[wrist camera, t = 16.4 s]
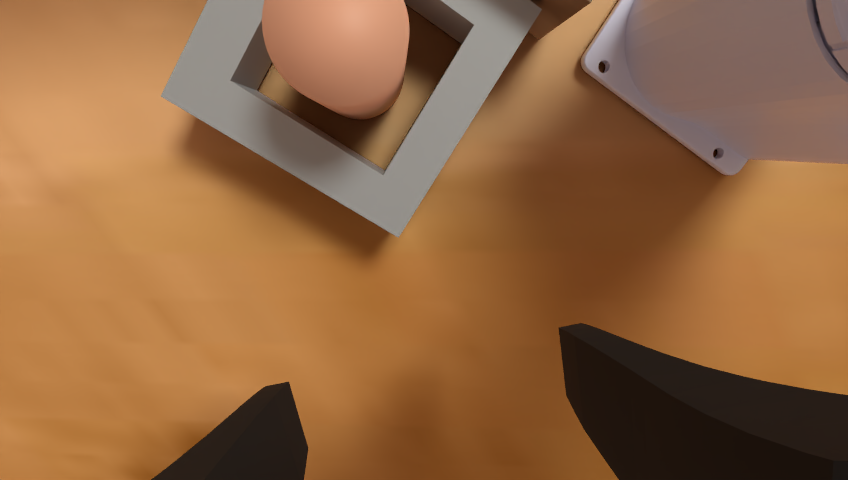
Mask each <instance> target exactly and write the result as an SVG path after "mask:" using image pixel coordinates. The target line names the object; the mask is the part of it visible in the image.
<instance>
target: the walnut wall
mask: <svg viewBox="0 0 848 480" xmlns="http://www.w3.org/2000/svg"><path fill="white" fill-rule="evenodd" d="M530 1H532V2H533V3H534V4H536V5H537V6H538V7H540V8H541V9H542V10H541V12H540V13H539V15H538V17H537V18H536V20H535V21H534V23H533V25H532V26H531V28H530V29H529V31H528V32H529V33H530V34H532V35H533V36H534V37H536V38H537V39H538V40H539V39H540V38H542V37H543V36H545V35H546V34H547V33H549V32H550V31H552V30H553V29H554V28H556V27H557V26H559V25H560V24H561V23H563V22H564V21H566V20H567V19H568V18H570V17H571V16H573V15H574V14H575V13H577V12H578V11H580V10H581V9H582V8H584V7H585V6H587V5H588V4H589V3H591V1H592V0H530Z"/></svg>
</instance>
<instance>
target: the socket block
mask: <svg viewBox="0 0 848 480" xmlns="http://www.w3.org/2000/svg"><path fill="white" fill-rule="evenodd" d="M404 2H405V4H406V5H408V6H409V7H410V8H412V9H413V10H415V11H416V12H417V13H419V14H420V15H422V16H423V17H424V18H426V19H427V20H429V21H430V22H431V23H433V24H434V25H436V26H437V27H438V28H440V29H441V30H443V31H444V32H445V33H447V34H448V35H450V36H451V37H452V38H454V39H455V40H457V41H458V42H459V43H461V45H460V47H459V49H458V50H457V52H456V54H455V55H454V57H453V59H452V60H451V62H450V64H449V65H448V67H447V68H446V70H445V72H444V73H443V75H442V77H441V78H440V80H439V82H438V83H437V85H436V87H435V88H434V90H433V92H432V93H431V95H430V97H429V98H428V100H427V102H426V103H425V105H424V107H423V108H422V110H421V112H420V113H419V115H418V116H417V118H416V120H415V121H414V123H413V125H412V126H411V128H410V130H409V131H408V133H407V135H406V136H405V138H404V140H403V141H402V143H401V145H400V146H399V148H398V150H397V151H396V153H395V155H394V156H393V158H392V159H391V161H390V163H389V164H388V166H387V168H386V169H385V170H383V169H382V168H380V167H379V166H377V165H375V164H374V163H372V162H371V161H369V160H367V159H366V158H364V157H363V156H361V155H359V154H358V153H356V152H355V151H353V150H351V149H350V148H348V147H346V146H345V145H343V144H342V143H340V142H338V141H337V140H335V139H334V138H332V137H330V136H329V135H327V134H326V133H324V132H322V131H321V130H319V129H318V128H316V127H314V126H313V125H311V124H310V123H308V122H306V121H305V120H303V119H302V118H300V117H298V116H297V115H295V114H294V113H292V112H290V111H289V110H287V109H286V108H284V107H282V106H281V105H279V104H278V103H276V102H274V101H273V100H271V99H270V98H268V97H266V96H265V95H263V94H262V93H260V92H258V91H257V90H258V88H259V86H260V84H261V82H262V80H263V78H264V76H265V75H266V73H267V71H268V69H269V67H270V65H271V63H272V61H271V58H270V56H269V54H268V52H267V48H266V45H265V42H264V37H263V31H262V10H263V5H264V0H208V1H207V3H206V5H205V7H204V9H203V11H202V13H201V15H200V17H199V19H198V21H197V23H196V25H195V27H194V29H193V32H192V34H191V36H190V38H189V40H188V42H187V44H186V46H185V48H184V50H183V52H182V54H181V56H180V58H179V60H178V62H177V64H176V66H175V68H174V70H173V72H172V74H171V76H170V78H169V81H168V83H167V85H166V87H165V89H164V91H163V93H162V95H161V97H163V98H165V99H166V100H168V101H170V102H171V103H173V104H175V105H176V106H178V107H180V108H181V109H183V110H185V111H186V112H188V113H190V114H191V115H193V116H195V117H196V118H198V119H200V120H201V121H203V122H205V123H207V124H208V125H210V126H212V127H213V128H215V129H217V130H218V131H220V132H222V133H223V134H225V135H227V136H228V137H230V138H232V139H233V140H235V141H237V142H238V143H240V144H242V145H244V146H245V147H247V148H249V149H250V150H252V151H254V152H255V153H257V154H259V155H260V156H262V157H264V158H265V159H267V160H269V161H270V162H272V163H274V164H275V165H277V166H279V167H280V168H282V169H284V170H286V171H287V172H289V173H291V174H292V175H294V176H296V177H297V178H299V179H301V180H302V181H304V182H306V183H307V184H309V185H311V186H312V187H314V188H316V189H317V190H319V191H321V192H323V193H324V194H326V195H328V196H329V197H331V198H333V199H334V200H336V201H338V202H339V203H341V204H343V205H344V206H346V207H348V208H349V209H351V210H353V211H354V212H356V213H358V214H359V215H361V216H363V217H365V218H366V219H368V220H370V221H371V222H373V223H375V224H376V225H378V226H380V227H381V228H383V229H385V230H386V231H388V232H390V233H391V234H393V235H395V236H396V237H398V238H399V236H400V234H401V233H402V231H403V230H404V228H405V226H406V225H407V223H408V222H409V220H410V219H411V217H412V215H413V214H414V212H415V211H416V209H417V207H418V206H419V204H420V203H421V201H422V199H423V198H424V196H425V195H426V193H427V191H428V190H429V188H430V187H431V185H432V184H433V182H434V180H435V179H436V177H437V176H438V174H439V172H440V171H441V169H442V168H443V166H444V164H445V163H446V161H447V160H448V158H449V156H450V155H451V153H452V152H453V150H454V149H455V147H456V145H457V144H458V142H459V141H460V139H461V137H462V136H463V134H464V133H465V131H466V129H467V128H468V126H469V125H470V123H471V122H472V120H473V118H474V117H475V115H476V114H477V112H478V110H479V109H480V107H481V106H482V104H483V102H484V101H485V99H486V98H487V96H488V94H489V93H490V91H491V90H492V88H493V87H494V85H495V83H496V82H497V80H498V79H499V77H500V75H501V74H502V72H503V71H504V69H505V67H506V66H507V64H508V63H509V61H510V60H511V58H512V56H513V55H514V53H515V52H516V50H517V48H518V47H519V45H520V44H521V42H522V40H523V39H524V37H525V36H526V34H527V32H528V31H529V29H530V28H531V26H532V25H533V23H534V21H535V20H536V18H537V17H538V15H539V13H540V12H541V10H542V9H541V8H540V7H538V6H537V5H536V4H534V3H533V2H532V1H530V0H404Z"/></svg>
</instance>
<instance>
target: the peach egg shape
mask: <svg viewBox="0 0 848 480" xmlns="http://www.w3.org/2000/svg"><path fill="white" fill-rule="evenodd" d="M262 31H263V37H264V42H265V45H266V48H267V52H268V54H269V56H270V58H271V61H272V62H273V64H274V66H275V67H276V69H277V71H278V72H279V73H280V74H281V76H282V77H283V78H284V79H285V80H286V81H287V82H288V83H289V84H290V85H291V86H292V87H293V88H294V89H296V90H297V91H298V92H300V93H301V94H303V95H305V96H306V97H308V98H310V99H312V100H314V101H315V102H317V103H319V104H321V105H323V106H325V107H327V108H328V109H330V110H332V111H334V112H336V113H338V114H340V115H342V116H344V117H347V118H351V119H369V118H373V117H376V116H378V115H380V114H382V113H383V112H385V111H386V110H387V109H389V108H390V107H391V106H392V105H393V103H394V102H395V101H396V99H397V98H398V96H399V94H400V91H401V89H402V85H403V80H404V72H405V65H406V58H407V51H408V43H409V18H408V13H407V9H406V5H405V2H404V0H264V5H263V10H262Z"/></svg>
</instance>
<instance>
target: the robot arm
mask: <svg viewBox="0 0 848 480" xmlns="http://www.w3.org/2000/svg"><path fill="white" fill-rule="evenodd" d="M600 62H603V63H604V64H605V68H606V69H605V71H604V72H603V73H602V72H600V71H599V69H598V65H599V63H600ZM581 66H582V69H583V70H584V71H585V72H586V73H588V74H589V75H590V76H592V77H593V78H594V79H596V80H597V81H598V82H600V83H601V84H602V85H604V86H605V87H606V88H608V89H609V90H610V91H612V92H613V93H614V94H616V95H617V96H618V97H620V98H621V99H622V100H624V101H625V102H626V103H628V104H629V105H630V106H632V107H633V108H634V109H636V110H637V111H638V112H640V113H641V114H643V115H644V116H645V117H647V118H648V119H649V120H651V121H652V122H653V123H655V124H656V125H657V126H659V127H660V128H661V129H663V130H664V131H665V132H667V133H668V134H669V135H671V136H672V137H673V138H675V139H676V140H677V141H679V142H680V143H681V144H683V145H684V146H685V147H687V148H688V149H689V150H691V151H692V152H693V153H695V154H696V155H697V156H699V157H700V158H701V159H703V160H704V161H705V162H707V163H708V164H709V165H711V166H712V167H713V168H715V169H716V170H717V171H719V172H720V173H722V174H724V175H735V174H737V173H738V172H739V171H740V170H741V169H742V167H743V166H744V165H745V163H746V162H747V161H748V159H752V160H773V161H795V162H816V163H838V164H848V0H619V1H618V2H617V4H616V5H615V7H614V9H613V10H612V12H611V13H610V15H609V16H608V18H607V19H606V21H605V22H604V24H603V25H602V27H601V28H600V30H599V31H598V33H597V34H596V36H595V37H594V39H593V40H592V42H591V43H590V45H589V47H588V48H587V50H586V51H585V53H584V54H583V56H582V58H581ZM715 149H717V155H716V157H715V158H714V157H713V152H714V150H715ZM559 335H560V343H561V352H562V361H563V370H564V379H565V388H566V396H567V398H568V399H569V401H570V403H571V405H572V407H573V409H574V411H575V413H576V415H577V417H578V419H579V421H580V423H581V425H582V426H583V428H584V430H585V431H586V433H587V434H588V436H589V437H590V439H591V440H592V442H593V443H594V445H595V446H596V448H597V449H598V450H599V452H600V453H601V455H602V456H603V458H604V459H605V461H606V462H607V463H608V465H609V466H610V468H611V469H612V471H613V472H614V473H615V475H616V476H617V478H618V479H619V480H848V395H843V394H836V393H829V392H822V391H816V390H809V389H804V388H798V387H793V386H787V385H782V384H777V383H771V382H766V381H761V380H757V379H752V378H748V377H743V376H739V375H735V374H732V373H728V372H724V371H720V370H716V369H712V368H708V367H705V366H701V365H698V364H695V363H691V362H688V361H685V360H682V359H679V358H676V357H673V356H670V355H667V354H664V353H661V352H658V351H656V350H653V349H650V348H647V347H645V346H642V345H639V344H637V343H634V342H631V341H629V340H626V339H624V338H621V337H619V336H616V335H614V334H611V333H608V332H606V331H603V330H601V329H598V328H595V327H592V326H589V325H586V324H583V323H579V324H574V325H570V326H565V327H560V328H559ZM307 453H308V446H307V443H306V439H305V436H304V432H303V429H302V425H301V422H300V419H299V415H298V412H297V408H296V405H295V401H294V398H293V395H292V391H291V388H290V384H289V382H285V383H280V384H275V385H270V386H265V387H264V388H263V389H261V390H260V391H258V392H257V393H256V394H255V395H253V396H252V397H251V398H250V399H248V400H247V401H246V402H245V403H244V404H243V405H241V406H240V407H239V408H238V409H237V410H236V411H234V412H233V413H232V414H231V415H230V416H229V417H228V418H226V419H225V420H224V421H223V422H222V423H221V424H219V425H218V426H217V427H216V428H215V429H214V430H213V431H211V432H210V433H209V434H208V435H207V436H206V437H204V438H203V439H202V440H201V441H199V442H198V443H197V444H196V445H195V446H193V447H192V448H191V449H190V450H188V451H187V452H186V453H185V454H183V455H182V456H181V457H180V458H178V459H177V460H176V461H175V462H174V463H172V464H171V465H170V466H169V467H167V468H166V469H165V470H163V471H162V472H161V473H160V474H158V475H157V476H156V477H154V478H153V479H151V480H304V474H305V468H306V460H307Z"/></svg>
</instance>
